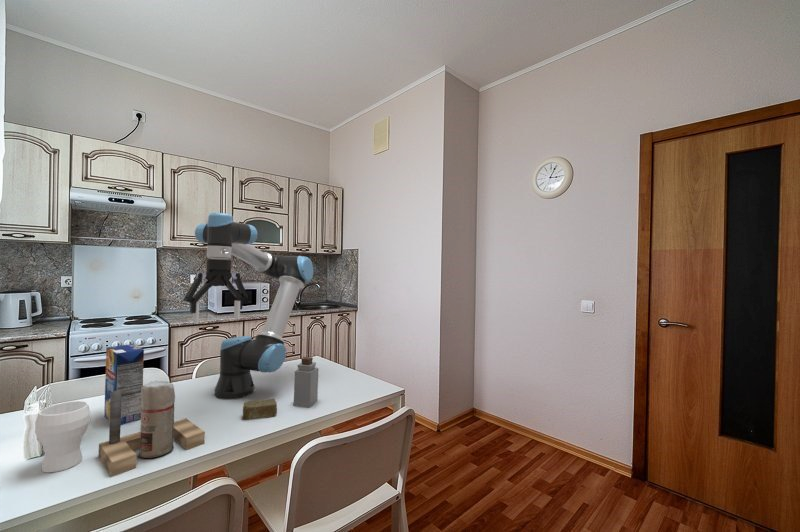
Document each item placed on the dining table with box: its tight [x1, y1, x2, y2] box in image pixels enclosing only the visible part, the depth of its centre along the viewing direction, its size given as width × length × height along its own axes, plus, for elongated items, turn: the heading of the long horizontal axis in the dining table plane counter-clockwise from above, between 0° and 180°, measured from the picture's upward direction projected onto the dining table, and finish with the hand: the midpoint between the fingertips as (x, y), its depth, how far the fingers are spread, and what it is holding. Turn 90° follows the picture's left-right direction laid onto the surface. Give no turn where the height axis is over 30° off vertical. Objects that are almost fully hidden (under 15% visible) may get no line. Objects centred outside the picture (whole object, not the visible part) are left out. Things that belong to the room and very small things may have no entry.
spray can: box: [138, 380, 176, 459], centre depth 100 cm, size 8×8×20 cm
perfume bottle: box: [293, 356, 319, 409], centre depth 138 cm, size 7×7×18 cm
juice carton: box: [103, 343, 145, 426], centre depth 120 cm, size 12×8×24 cm, turn 53°
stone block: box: [242, 398, 278, 421], centre depth 126 cm, size 6×12×5 cm, turn 112°
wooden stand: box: [98, 388, 206, 477], centre depth 101 cm, size 14×22×18 cm, turn 142°
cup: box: [34, 400, 92, 473], centre depth 93 cm, size 11×11×15 cm
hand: (217, 321), depth 119 cm, fingers open, 13 cm apart
